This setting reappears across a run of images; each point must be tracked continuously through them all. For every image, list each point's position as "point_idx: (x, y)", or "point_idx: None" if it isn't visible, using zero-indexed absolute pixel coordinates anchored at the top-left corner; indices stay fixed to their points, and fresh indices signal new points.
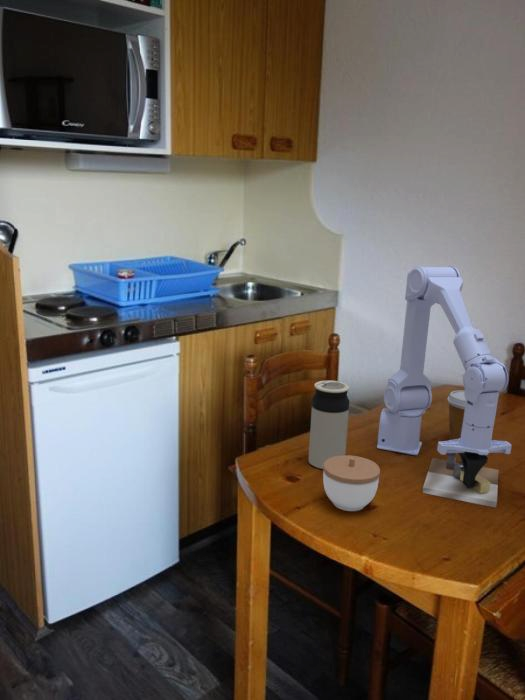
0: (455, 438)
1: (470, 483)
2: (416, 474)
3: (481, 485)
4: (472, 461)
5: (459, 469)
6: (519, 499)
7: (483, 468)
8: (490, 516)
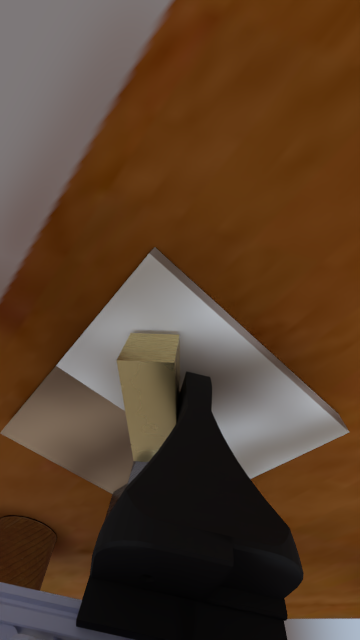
0: (43, 551)
1: (205, 387)
2: (253, 482)
3: (174, 355)
4: (283, 543)
5: None
6: (13, 276)
7: (46, 451)
8: (238, 183)
